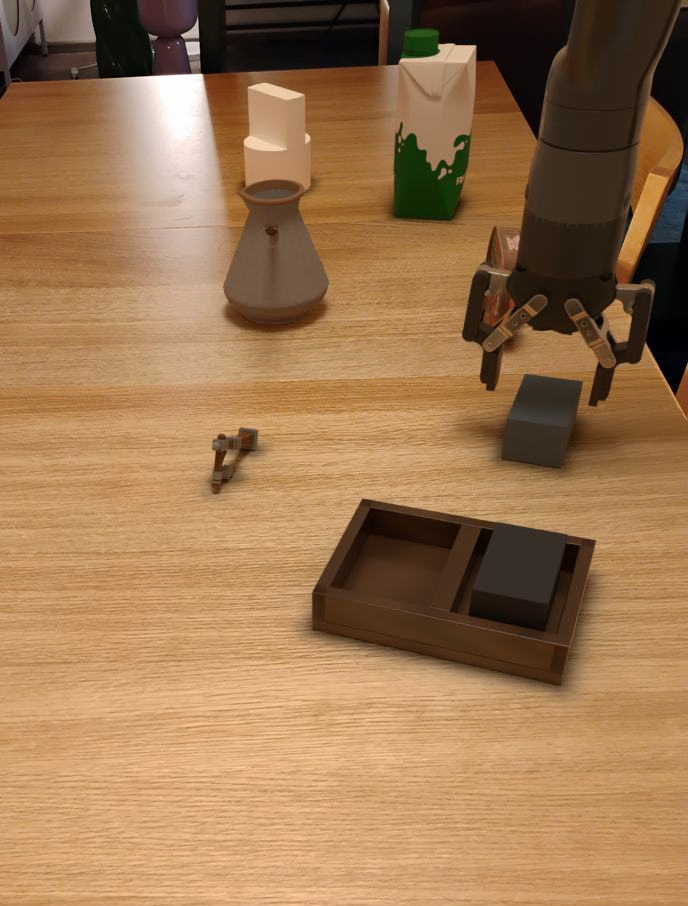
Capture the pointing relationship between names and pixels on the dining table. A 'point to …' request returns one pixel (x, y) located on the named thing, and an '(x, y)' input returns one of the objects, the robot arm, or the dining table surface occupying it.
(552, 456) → the pad
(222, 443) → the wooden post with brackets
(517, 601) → the dark brown rectangular block
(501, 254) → the tin
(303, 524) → the dining table surface
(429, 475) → the dining table surface
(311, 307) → the coffee pot
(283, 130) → the cylinder with rectangular tab
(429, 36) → the milk carton
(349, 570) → the divided wooden tray
